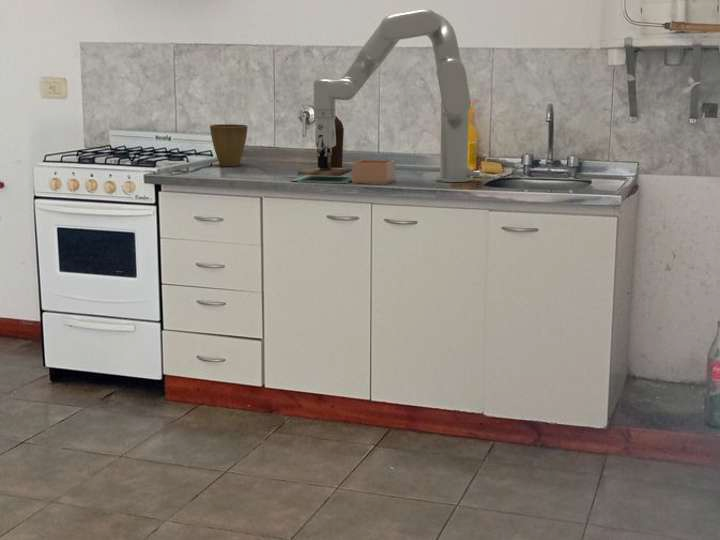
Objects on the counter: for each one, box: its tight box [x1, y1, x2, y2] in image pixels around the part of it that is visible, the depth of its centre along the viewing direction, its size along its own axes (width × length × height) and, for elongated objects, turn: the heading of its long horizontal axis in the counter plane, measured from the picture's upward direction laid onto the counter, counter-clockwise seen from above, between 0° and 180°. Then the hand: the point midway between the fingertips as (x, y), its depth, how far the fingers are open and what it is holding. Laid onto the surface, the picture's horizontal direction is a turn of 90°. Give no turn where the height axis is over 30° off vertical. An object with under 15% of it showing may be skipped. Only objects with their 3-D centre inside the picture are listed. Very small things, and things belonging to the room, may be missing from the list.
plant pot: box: [209, 123, 249, 167], centre depth 417 cm, size 15×15×16 cm
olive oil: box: [316, 114, 345, 168], centre depth 404 cm, size 11×11×25 cm
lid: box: [297, 152, 353, 177], centre depth 370 cm, size 15×15×7 cm
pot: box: [352, 159, 396, 185], centre depth 365 cm, size 12×12×7 cm
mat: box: [290, 175, 353, 184], centre depth 371 cm, size 20×16×1 cm
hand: (325, 166), depth 370 cm, fingers closed on lid, 3 cm apart
